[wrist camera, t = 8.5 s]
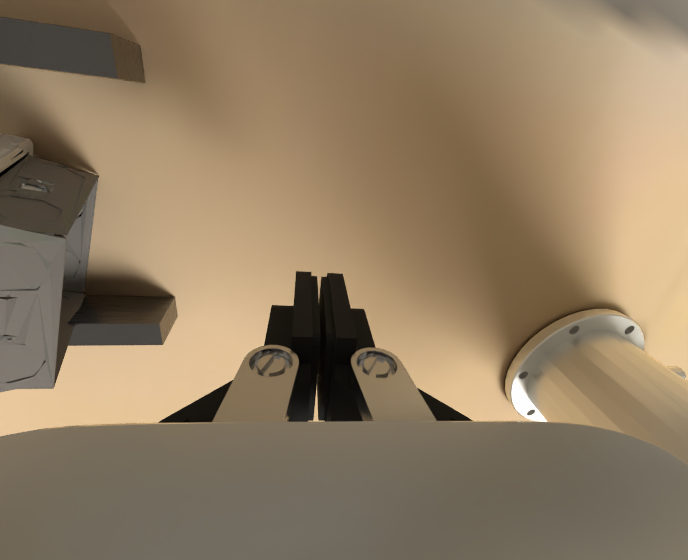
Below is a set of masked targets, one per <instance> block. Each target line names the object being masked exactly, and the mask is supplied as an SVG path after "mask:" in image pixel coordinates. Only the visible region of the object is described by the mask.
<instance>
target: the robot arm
mask: <svg viewBox="0 0 688 560" xmlns="http://www.w3.org/2000/svg"><path fill="white" fill-rule="evenodd" d="M685 377H686V375H685V372H684V371H683V370H682V369H681V368H679V367H676V366H674V367H666V366H665V365H663V364H662V363H660V362H659V361H657V360H656V359H655V358H653V357H652V356H650V355H649V354H647V353H646V352H644V336H643V331H642V330H641V328H640V327H639V325H638V324H637V323H636V322H635V321H633V320H632V319H631V318H629V317H627V316H626V315H624V314H622V313H620V312H618V311H614V310H610V309H591V310H585V311H580V312H577V313H574V314H571V315H568V316H566V317H564V318H562V319H559V320H557V321H555V322H553V323H552V324H550V325H549V326H547V327H546V328H544V329H542V330H541V331H540V332H539V333H537V334H536V335H535V336H534V337H532V338H531V339H530V340H529V341H528V342H527V343H526V344H525V345H524V346H523V347H522V349H521V350H520V351H519V353H518V354H517V355H516V357H515V358H514V360H513V362H512V364H511V366H510V368H509V370H508V373H507V376H506V380H505V392H506V396H507V398H508V400H509V402H510V403H511V405H512V406H513V407H514V409H515V410H516V411H517V412H518V413H519V414H520V415H522V416H523V417H525V418H528V419H531V420H534V421H472V420H471V419H469V418H468V417H466V416H464V415H463V414H461V413H459V412H458V411H456V410H454V409H452V408H451V407H449V406H447V405H446V404H444V403H442V402H440V401H439V400H437V399H435V398H434V397H432V396H430V395H429V394H427V393H425V392H423V391H422V390H420V389H418V388H417V387H416V386H415V384H414V382H413V381H412V379H411V377H410V376H409V374H408V372H407V371H406V369H405V367H404V366H403V364H402V362H401V361H400V360H399V359H398V357H397V356H395V355H394V354H392V353H391V352H389V351H386V350H384V349H380V348H375V344H374V341H373V338H372V334H371V331H370V328H369V324H368V321H367V318H366V314H365V311H364V309H351V308H350V304H349V299H348V295H347V291H346V286H345V282H344V277H343V274H334V273H328V274H327V277H321V287H320V298H319V300H318V284H317V276H311V272H299V271H296V282H295V296H294V306H279V305H272V307H271V312H270V318H269V323H268V328H267V333H266V339H265V344H264V346H261V347H258V348H256V349H254V350H252V351H251V352H249V353H248V354H247V355H246V357H245V358H244V360H243V362H242V364H241V366H240V368H239V370H238V372H237V374H236V376H235V378H234V380H232V381H230V382H229V383H227V384H225V385H223V386H222V387H220V388H218V389H216V390H214V391H213V392H211V393H209V394H207V395H206V396H204V397H202V398H200V399H198V400H197V401H195V402H193V403H191V404H190V405H188V406H186V407H184V408H182V409H181V410H179V411H177V412H175V413H174V414H172V415H170V416H168V417H167V418H165V419H163V420H161V421H160V422H158V423H126V424H101V425H75V426H65V427H55V428H46V429H38V430H33V431H27V432H22V433H16V434H11V435H5V436H1V437H0V560H688V381H686V380H685ZM316 385H317V395H318V419H319V420H325V422H308V421H313V417H314V407H315V396H316ZM535 421H544V422H535Z"/></svg>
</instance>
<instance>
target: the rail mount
mask: <svg viewBox="0 0 688 560" xmlns="http://www.w3.org/2000/svg"><path fill="white" fill-rule="evenodd" d="M0 64H1V65H9V66H17V67H25V68H32V69H40V70H48V71H56V72H63V73H71V74H79V75H86V76H94V77H102V78H110V79H117V80H125V81H133V82H141V83H145V77H144V70H143V63H142V55H141V48H140V45H137V44H135V43H132V42H130V41H127V40H125V39H122V38H120V37H117V36H115V35H113V34H110V33H104V32H97V31H90V30H84V29H77V28H71V27H64V26H58V25H51V24H44V23H38V22H31V21H25V20H18V19H12V18H5V17H0ZM176 318H177V309H176V302H175V297H147V296H91V295H85V296H84V299H83V302H82V305H81V307H80V308H79V309H78V310H77V312H76V313H75V314H74V316H73V317H72V318H71V319H70V321H69V322H68V323H67V324H70V325H73V326H74V329H73V332H72V335H71V338H70V341H69V344H68V346H78V345H163V344H164V342H165V340H166V338H167V336H168V334H169V332H170V330H171V328H172V326H173V324H174V322H175V320H176Z"/></svg>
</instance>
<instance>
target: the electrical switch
mask: <svg viewBox="0 0 688 560" xmlns="http://www.w3.org/2000/svg"><path fill="white" fill-rule="evenodd" d="M33 146H34V145H33V143H32V141H31V140H30V139H27V138H23V137H19V136H15V135H10V134H6V133H5V134H3V135H1V136H0V392H4V391H9V390H14V389H53V388H54V386H55V383H56V380H57V377H58V374H59V371H60V368H61V365H62V362H63V359H64V356H65V353H66V350H67V347H68V344H69V341H70V338H71V335H72V332H73V329H74V326H73V325H70V324H67V323H68V322H69V321H70V319H71V318H72V317H73V316H74V314H75V313H76V312H77V310H78V309H79V308H80V307H81V305H82V302H83V299H84V296H85V294H83V293H75V292H84V290H85V282H86V274H87V266H88V257H89V249H90V241H91V232H92V224H93V216H94V208H95V199H96V191H97V183H98V177H99V176H98V175H94V174H90V173H86V172H82V171H78V170H74V169H70V168H69V167H67V166H65V165H62V164H59V163H56V162H52V161H48V160H43V159H40V158H38V157H35V156H33ZM85 201H87V202H85ZM82 212H83V213H82ZM81 213H82V215H81V217H78V216H79V215H80V214H81ZM77 217H78V218H77ZM54 234H58V235H62V237H61V236H55V235H54ZM66 249H67V250H68V251H67V250H66ZM79 260H80V261H81V262H80V264H79ZM67 277H70V278H67ZM68 291H73V292H68Z"/></svg>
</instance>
